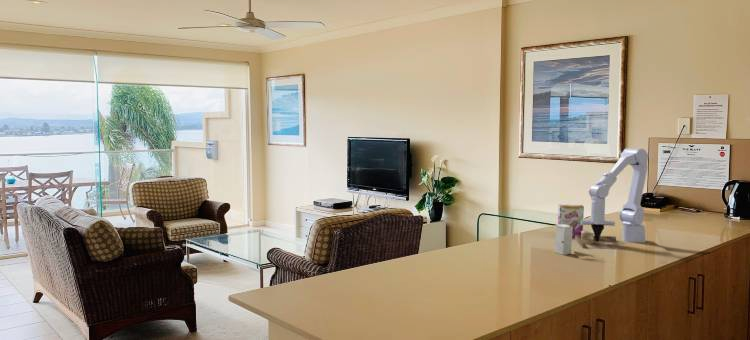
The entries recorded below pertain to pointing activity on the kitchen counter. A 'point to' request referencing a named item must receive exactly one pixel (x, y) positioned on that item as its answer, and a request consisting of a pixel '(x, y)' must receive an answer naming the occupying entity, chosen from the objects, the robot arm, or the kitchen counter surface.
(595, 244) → the board
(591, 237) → the block
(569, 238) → the skincare box
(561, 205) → the candy bar box
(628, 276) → the kitchen counter surface
